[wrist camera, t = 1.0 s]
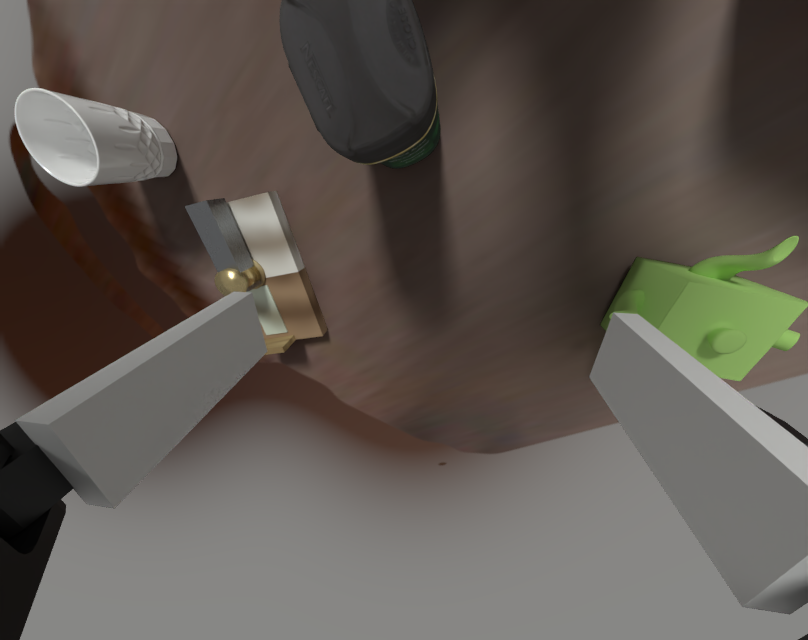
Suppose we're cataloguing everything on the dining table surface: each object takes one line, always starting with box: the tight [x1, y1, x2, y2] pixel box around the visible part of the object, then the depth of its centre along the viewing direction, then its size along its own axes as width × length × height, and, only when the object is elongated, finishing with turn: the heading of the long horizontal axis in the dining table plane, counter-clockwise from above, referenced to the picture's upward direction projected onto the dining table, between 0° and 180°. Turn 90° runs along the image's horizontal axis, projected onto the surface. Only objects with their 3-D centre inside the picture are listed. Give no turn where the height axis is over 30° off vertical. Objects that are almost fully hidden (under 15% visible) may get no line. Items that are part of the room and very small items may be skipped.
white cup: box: [15, 88, 177, 187], centre depth 32 cm, size 8×8×10 cm
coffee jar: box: [280, 0, 440, 169], centre depth 23 cm, size 10×8×19 cm
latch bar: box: [185, 198, 262, 296], centre depth 36 cm, size 11×4×4 cm, turn 12°
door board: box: [227, 191, 328, 355], centre depth 40 cm, size 20×11×6 cm, turn 12°
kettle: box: [600, 236, 808, 381], centre depth 32 cm, size 15×14×11 cm
